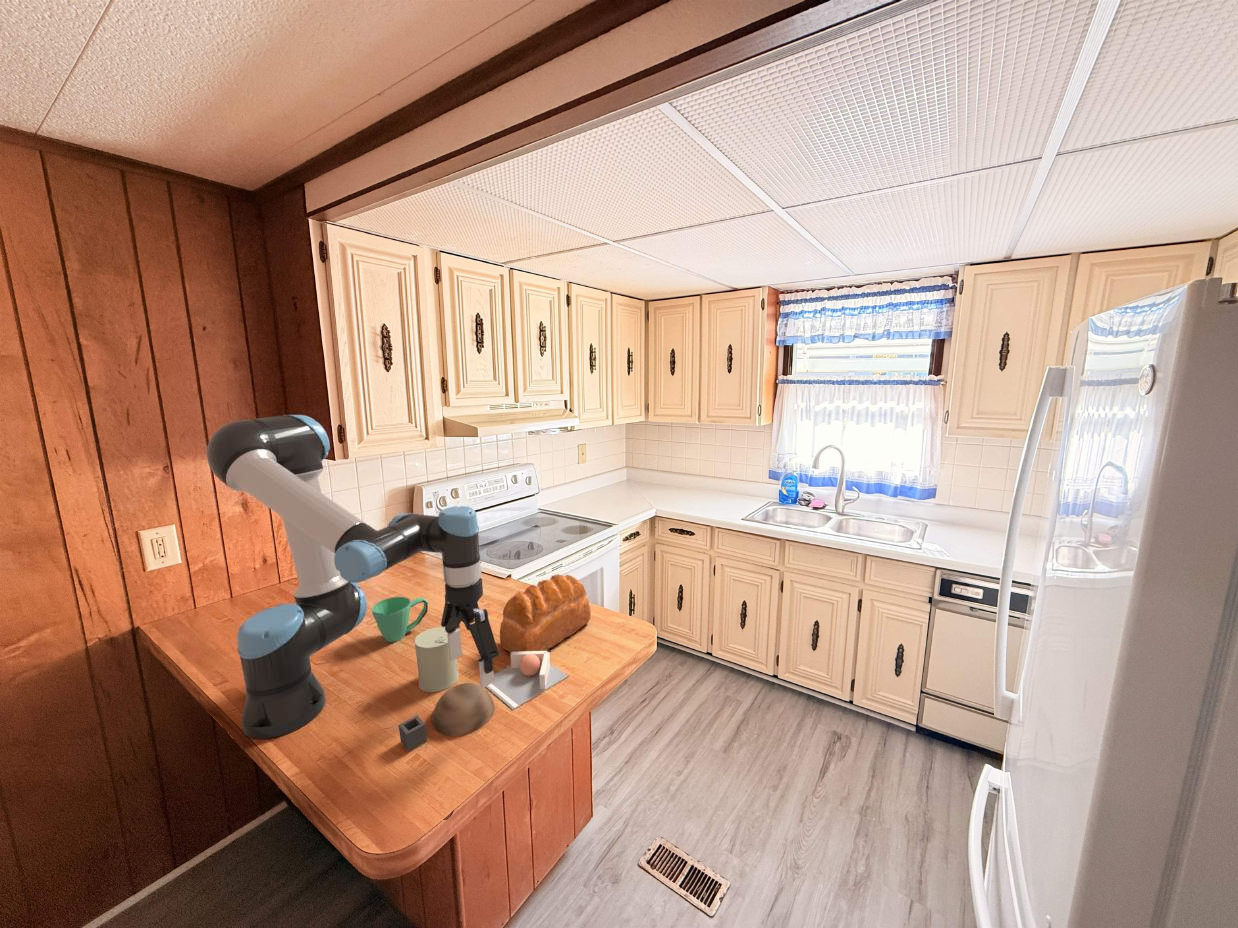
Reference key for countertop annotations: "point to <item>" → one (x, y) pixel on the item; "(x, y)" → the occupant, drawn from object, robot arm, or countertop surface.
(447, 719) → the dome
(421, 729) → the dark grey hollow cube
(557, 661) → the countertop surface
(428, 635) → the can
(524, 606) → the bread
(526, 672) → the ball
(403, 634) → the mug
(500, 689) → the grey walled tray
